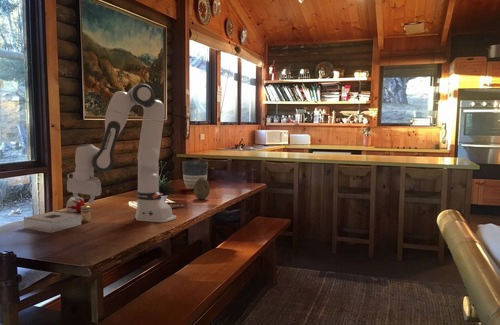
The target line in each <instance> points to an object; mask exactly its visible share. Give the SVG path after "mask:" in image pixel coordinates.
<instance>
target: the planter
mask: <svg viewBox="0 0 500 325" xmlns="http://www.w3.org/2000/svg"><path fill="white" fill-rule="evenodd" d="M208 167H209V162H208V161H206V160H184V161H182V177H183V182H184V184H185V186H186V187H187V188H188V189H189V190H192V189H194V186H195V183H196V181H197V180H198V179H199V178H201V177H203V178H205V179H206V180H207V181H208Z"/></svg>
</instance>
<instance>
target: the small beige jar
mask: <svg viewBox="0 0 500 325" xmlns="http://www.w3.org/2000/svg"><path fill="white" fill-rule="evenodd" d="M80 214H81V223H85V224H86V223H90V222H91V220H92V219H91V218H92V217H91V216H92V215H91V205H87V204H85V206H81V212H80Z"/></svg>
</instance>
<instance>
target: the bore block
mask: <svg viewBox="0 0 500 325" xmlns="http://www.w3.org/2000/svg"><path fill="white" fill-rule="evenodd" d="M81 225H82V222H81V213H70V212H67V211H60V210H53V211H49V212H44V213H41V214H36V215H32V216H31V215H30V216H27V217H26V216H24V217H23V229H25V230H32V231H38V232H43V233H48V234H52V233H56V232H59V231H64V230H66V229H70V228H73V227H74V228H76V227H78V226H81Z"/></svg>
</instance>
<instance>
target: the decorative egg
mask: <svg viewBox="0 0 500 325" xmlns="http://www.w3.org/2000/svg"><path fill="white" fill-rule="evenodd" d="M210 192H211V191H210V184H209V182H208V179H207V180H206V179H205V178H203V177H201V178H199V179H198V180H197V181H196V183H195V186H194V190H193V195H194V196H195V198H196V199H198V200H201V199H202V200H205V199H207V198H208V196H209V195H210Z"/></svg>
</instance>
